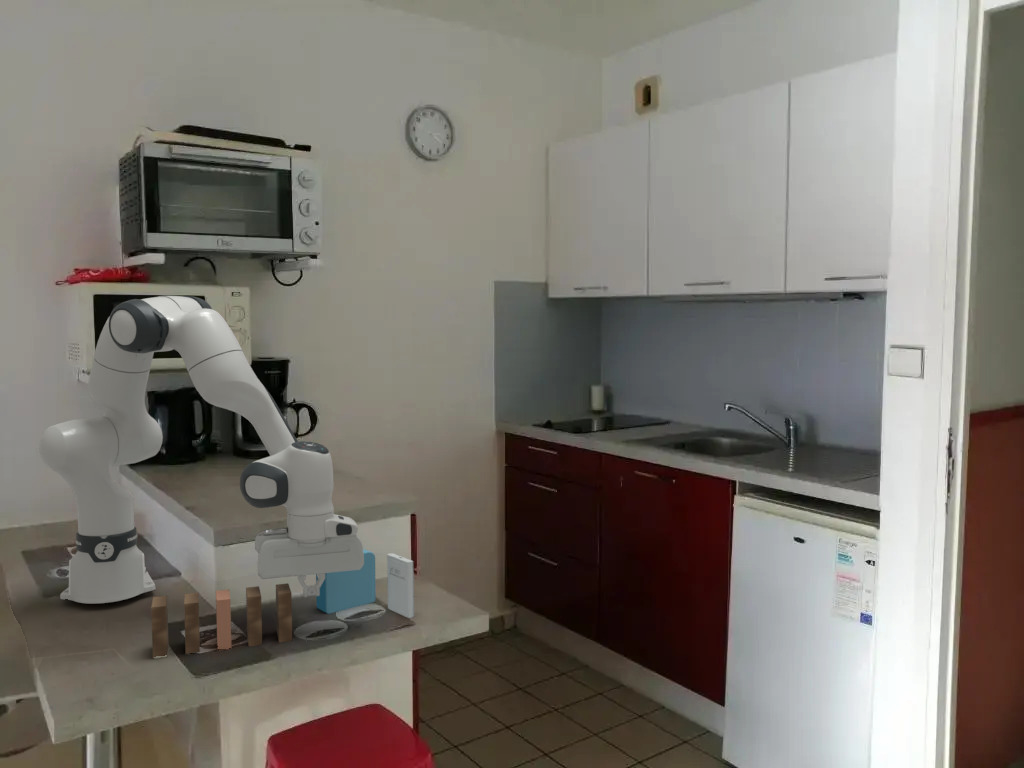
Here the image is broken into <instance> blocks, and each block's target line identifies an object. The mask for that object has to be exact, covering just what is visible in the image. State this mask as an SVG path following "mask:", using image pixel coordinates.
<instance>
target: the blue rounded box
mask: <svg viewBox="0 0 1024 768" xmlns="http://www.w3.org/2000/svg"><path fill="white" fill-rule="evenodd" d="M363 553H364V565H363V567H362V568H361V569H360V570H352V571H342V572H331V573H325V580H324V581H323V583H322V585H321V587H320V595H319V596H315V597H316V601H315V602H316V608H317V609H318V610H320V611H321V612H323V613H325V614H327V615H329V614H335V613H337V612H341V611H345V610H349V609H353V608H357V607H360V606H361V607H362V606H364V605H368V604H373V603H375V602H376V596H377V595H376V590H377V589H376V555H375V554H374V552H372V551H370V550H367V549H365V548H363ZM317 580H318V577H317V574H315V583H316V582H317Z"/></svg>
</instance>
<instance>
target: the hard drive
mask: <svg viewBox="0 0 1024 768" xmlns="http://www.w3.org/2000/svg"><path fill="white" fill-rule="evenodd" d="M386 557H387V558H386V560H387V561H386V562H387V564H386V565H387V567H386V568H387V572H386V573H387V610H389V611H392V612H394V613H396V614H398V615H401V616H403V617H406V618H408V619H412V618H414V617H415V591H414V590H415V586H414V585H415V584H414V583H415V580H414V561H413V560H412V559H409V558H407V557H404V556H401V555H398V554H396V553H392V552H389V553H387V554H386Z"/></svg>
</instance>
